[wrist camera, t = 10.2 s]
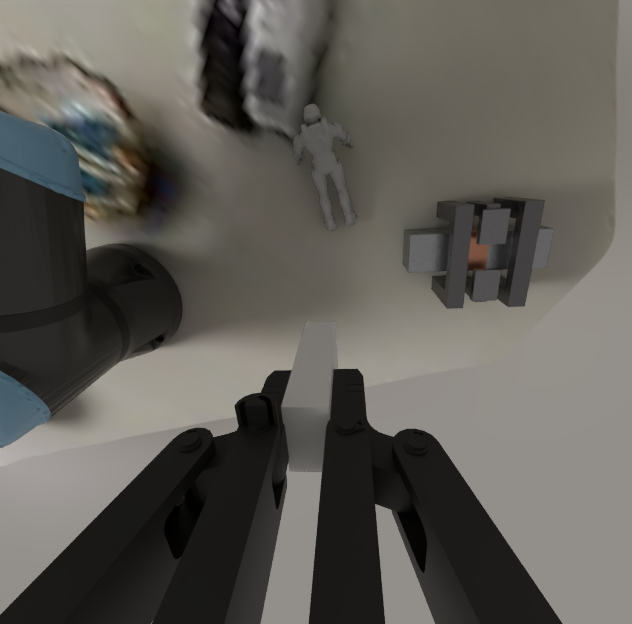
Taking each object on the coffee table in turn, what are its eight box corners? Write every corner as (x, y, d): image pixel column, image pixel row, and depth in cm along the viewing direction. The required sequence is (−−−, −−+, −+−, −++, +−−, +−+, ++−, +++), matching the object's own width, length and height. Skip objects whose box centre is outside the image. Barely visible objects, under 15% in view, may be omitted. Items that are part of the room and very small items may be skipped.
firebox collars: (431, 288, 39) (446, 308, 33) (437, 201, 35) (456, 205, 29) (496, 286, 38) (524, 306, 32) (509, 197, 34) (544, 200, 28)
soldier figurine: (364, 201, 38) (340, 86, 30) (370, 222, 34) (345, 95, 26) (314, 216, 39) (279, 108, 32) (314, 237, 35) (274, 119, 28)
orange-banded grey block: (402, 263, 38) (408, 272, 34) (404, 230, 37) (410, 235, 33) (525, 259, 37) (545, 267, 33) (532, 223, 35) (554, 228, 31)
